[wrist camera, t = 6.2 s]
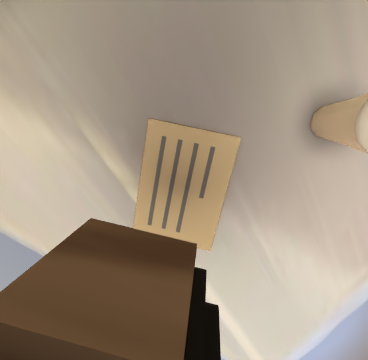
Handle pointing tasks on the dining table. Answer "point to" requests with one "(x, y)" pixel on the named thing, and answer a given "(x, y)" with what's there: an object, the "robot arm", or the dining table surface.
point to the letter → (184, 181)
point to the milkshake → (344, 122)
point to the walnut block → (101, 298)
